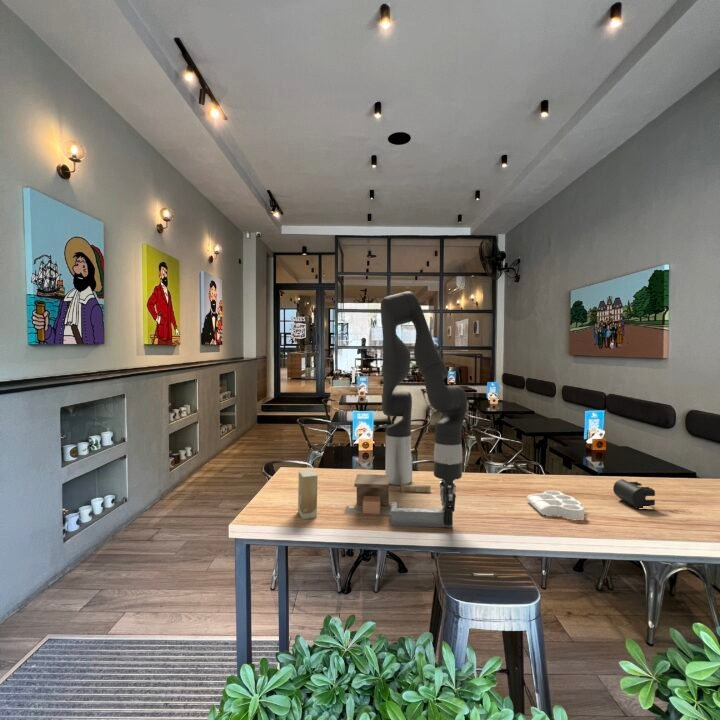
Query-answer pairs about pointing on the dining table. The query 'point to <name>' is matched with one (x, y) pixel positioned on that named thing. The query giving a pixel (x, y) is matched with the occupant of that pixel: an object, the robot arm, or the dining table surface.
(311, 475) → the skincare box
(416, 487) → the dowel
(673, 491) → the dining table surface
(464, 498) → the dining table surface
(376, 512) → the block
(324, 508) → the dining table surface
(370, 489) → the brown wooden box
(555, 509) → the white segmented tray
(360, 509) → the green flat plank
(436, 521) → the crook
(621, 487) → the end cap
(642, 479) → the dining table surface
